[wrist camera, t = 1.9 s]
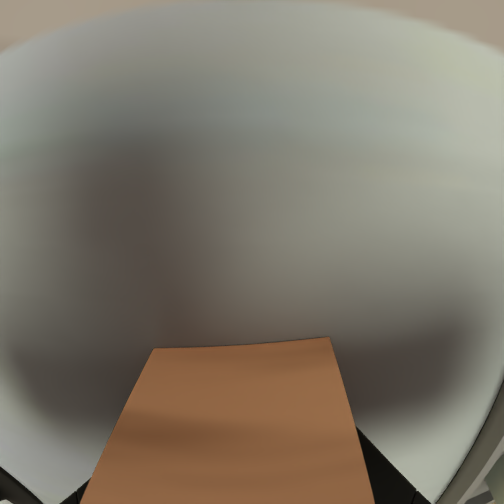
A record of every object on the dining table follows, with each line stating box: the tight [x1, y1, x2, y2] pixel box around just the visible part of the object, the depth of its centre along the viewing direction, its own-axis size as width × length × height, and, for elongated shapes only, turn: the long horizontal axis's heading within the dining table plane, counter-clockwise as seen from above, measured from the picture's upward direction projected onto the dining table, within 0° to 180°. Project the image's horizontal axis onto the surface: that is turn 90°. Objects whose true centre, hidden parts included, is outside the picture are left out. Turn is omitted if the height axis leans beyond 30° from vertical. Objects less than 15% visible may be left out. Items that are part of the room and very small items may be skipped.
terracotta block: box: [80, 337, 375, 504], centre depth 7 cm, size 5×5×6 cm
